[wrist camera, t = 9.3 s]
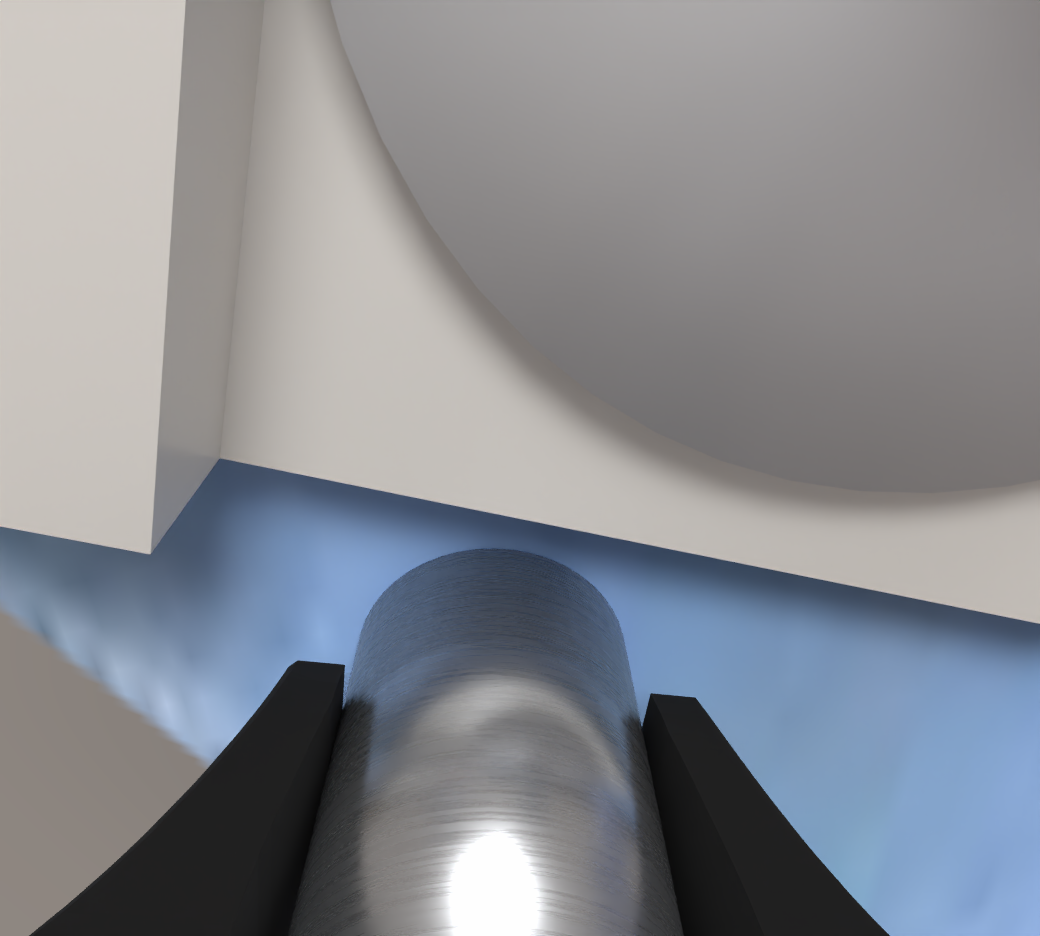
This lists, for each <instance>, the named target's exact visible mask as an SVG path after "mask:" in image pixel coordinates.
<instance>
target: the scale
mask: <svg viewBox="0 0 1040 936" xmlns="http://www.w3.org/2000/svg"><path fill="white" fill-rule="evenodd" d="M220 458H221V459H226V460H231V461H236V462H241V463H246V464H251V465H256V466H261V467H266V468H271V469H276V470H281V471H285V472H290V473H295V474H300V475H305V476H310V477H315V478H320V479H325V480H330V481H335V482H340V483H345V484H350V485H355V486H360V487H365V488H370V489H375V490H380V491H385V492H389V493H394V494H399V495H404V496H409V497H414V498H419V499H424V500H429V501H434V502H439V503H444V504H449V505H454V506H459V507H464V508H469V509H474V510H479V511H484V512H489V513H494V514H498V515H503V516H508V517H513V518H518V519H523V520H528V521H533V522H538V523H543V524H548V525H553V526H558V527H563V528H568V529H573V530H578V531H583V532H588V533H593V534H598V535H602V536H607V537H612V538H617V539H622V540H627V541H632V542H637V543H642V544H647V545H652V546H657V547H662V548H667V549H672V550H677V551H682V552H687V553H692V554H697V555H702V556H706V557H711V558H716V559H721V560H726V561H731V562H736V563H741V564H746V565H751V566H756V567H761V568H766V569H771V570H776V571H781V572H786V573H791V574H796V575H801V576H806V577H811V578H815V579H820V580H825V581H830V582H835V583H840V584H845V585H850V586H855V587H860V588H865V589H870V590H875V591H880V592H885V593H890V594H895V595H900V596H905V597H910V598H915V599H919V600H924V601H929V602H934V603H939V604H944V605H949V606H954V607H959V608H964V609H969V610H974V611H979V612H984V613H989V614H994V615H999V616H1004V617H1009V618H1014V619H1019V620H1024V621H1028V622H1033V623H1038V624H1040V0H0V526H1V527H6V528H11V529H17V530H22V531H27V532H33V533H38V534H43V535H49V536H54V537H59V538H65V539H70V540H76V541H81V542H86V543H92V544H97V545H102V546H108V547H113V548H118V549H124V550H129V551H134V552H140V553H145V554H150V555H151V553H152V552H153V550H154V549H155V548H156V546H157V545H158V544H159V542H160V541H161V539H162V538H163V537H164V535H165V534H166V532H167V531H168V530H169V528H170V527H171V525H172V524H173V523H174V521H175V520H176V518H177V517H178V516H179V514H180V513H181V511H182V510H183V509H184V507H185V506H186V504H187V503H188V502H189V500H190V499H191V498H192V496H193V495H194V493H195V492H196V491H197V489H198V488H199V486H200V485H201V484H202V482H203V481H204V479H205V478H206V477H207V475H208V474H209V472H210V471H211V470H212V468H213V467H214V465H215V464H216V463H217V461H218V460H219V459H220Z"/></svg>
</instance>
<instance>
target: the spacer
mask: <svg viewBox="0 0 1040 936" xmlns="http://www.w3.org/2000/svg"><path fill="white" fill-rule="evenodd" d="M288 936H684V935H683V930H682V925H681V920H680V915H679V910H678V905H677V900H676V895H675V890H674V885H673V880H672V875H671V870H670V865H669V860H668V856H667V851H666V846H665V841H664V836H663V831H662V826H661V821H660V816H659V811H658V806H657V801H656V796H655V791H654V786H653V781H652V776H651V771H650V766H649V761H648V756H647V751H646V746H645V741H644V736H643V731H642V726H641V722H640V717H639V712H638V707H637V702H636V697H635V692H634V687H633V682H632V677H631V672H630V667H629V662H628V657H627V652H626V647H625V642H624V637H623V634H622V630H621V627H620V624H619V621H618V619H617V617H616V615H615V613H614V611H613V609H612V608H611V606H610V605H609V604H608V602H607V601H606V599H605V598H604V597H603V596H602V595H601V593H600V592H599V591H598V590H597V589H596V588H595V587H594V586H593V585H592V584H590V583H589V582H588V581H587V580H585V579H584V578H583V577H582V576H580V575H579V574H577V573H576V572H574V571H572V570H571V569H569V568H567V567H566V566H564V565H561V564H559V563H557V562H555V561H552V560H550V559H548V558H544V557H541V556H538V555H535V554H531V553H526V552H521V551H515V550H505V549H475V550H469V551H462V552H456V553H453V554H449V555H445V556H442V557H438V558H436V559H433V560H431V561H428V562H426V563H423V564H422V565H420V566H418V567H416V568H414V569H412V570H411V571H409V572H407V573H406V574H405V575H403V576H402V577H400V578H399V579H398V580H396V581H395V582H394V583H393V584H392V585H391V586H390V587H389V588H388V589H387V590H386V591H384V592H383V593H382V595H381V596H380V597H379V599H378V600H377V601H376V603H375V604H374V605H373V607H372V609H371V610H370V612H369V614H368V616H367V618H366V620H365V623H364V625H363V628H362V631H361V634H360V639H359V643H358V647H357V651H356V655H355V659H354V663H353V668H352V672H351V676H350V680H349V684H348V688H347V692H346V696H345V701H344V705H343V709H342V713H341V717H340V721H339V725H338V730H337V734H336V738H335V742H334V746H333V750H332V754H331V759H330V763H329V767H328V771H327V775H326V779H325V783H324V788H323V792H322V796H321V800H320V804H319V808H318V812H317V816H316V821H315V825H314V829H313V833H312V837H311V841H310V845H309V850H308V854H307V858H306V862H305V866H304V870H303V874H302V879H301V883H300V887H299V891H298V895H297V899H296V903H295V908H294V912H293V916H292V920H291V924H290V928H289V932H288Z"/></svg>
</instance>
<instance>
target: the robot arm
mask: <svg viewBox="0 0 1040 936" xmlns="http://www.w3.org/2000/svg"><path fill="white" fill-rule="evenodd" d="M344 671H345V665H341V664H330V663H319V662H308V661H296V662H295V663H293V664H292V665H290V666H289V667H288V668H287V670H286V671H285V673H284V674H283V676H282V677H281V679H280V680H279V682H278V683H277V684H276V686H275V687H274V688H273V690H272V691H271V693H270V694H269V695H268V697H267V698H266V699H265V700H264V702H263V703H262V704H261V706H260V707H259V708H258V709H257V711H256V712H255V713H254V714H253V716H252V717H251V718H250V719H249V721H248V722H247V723H246V724H245V726H244V727H243V728H242V729H241V731H240V732H239V733H238V734H237V735H236V737H235V738H234V739H233V740H232V741H231V742H230V743H229V745H228V746H227V747H226V748H225V749H224V750H223V751H222V753H221V754H220V755H219V756H218V757H217V758H216V759H215V761H214V762H213V763H212V764H211V765H210V766H209V768H208V769H207V770H206V771H205V772H204V773H203V774H202V775H201V777H200V778H199V779H198V780H197V781H196V782H195V783H194V784H193V785H192V786H191V787H190V788H189V790H187V792H186V793H185V794H184V795H183V796H182V797H181V798H180V799H179V800H178V801H177V802H176V803H175V804H174V805H173V806H172V807H171V808H170V809H169V810H168V811H167V812H166V813H165V814H164V815H163V816H162V817H161V818H160V819H159V820H158V821H157V822H156V823H155V824H154V825H153V826H152V827H151V828H150V829H149V831H148V832H146V833H145V834H144V835H143V837H141V838H140V839H139V840H138V841H137V842H136V843H135V844H134V845H133V846H132V847H131V848H130V849H129V850H128V851H127V852H126V853H125V854H124V855H123V856H121V858H119V859H118V860H117V861H116V862H115V863H114V864H113V865H112V866H111V867H109V868H108V869H107V870H106V871H105V872H104V873H103V874H102V875H101V876H99V878H97V879H96V880H95V881H94V882H93V883H92V884H90V885H89V886H88V887H87V888H86V889H85V890H84V891H83V892H81V893H80V894H79V895H78V896H77V897H76V898H74V899H73V900H72V901H71V902H70V903H69V904H68V905H66V906H65V907H64V908H63V909H61V910H60V911H59V912H58V913H56V914H55V915H54V916H53V917H52V918H50V919H49V920H48V921H47V922H45V923H44V924H43V925H42V926H41V927H39V928H38V929H37V930H36V931H34V932H33V933H32V934H31V935H29V936H288V932H289V928H290V924H291V920H292V916H293V912H294V908H295V903H296V899H297V895H298V891H299V887H300V883H301V879H302V874H303V870H304V866H305V862H306V858H307V854H308V850H309V845H310V841H311V837H312V833H313V829H314V825H315V821H316V816H317V812H318V808H319V804H320V800H321V796H322V792H323V788H324V783H325V779H326V775H327V771H328V767H329V763H330V759H331V754H332V750H333V746H334V742H335V738H336V734H337V730H338V725H339V721H340V717H341V713H342V707H343V689H344ZM642 731H643V736H644V741H645V746H646V751H647V756H648V761H649V766H650V771H651V776H652V781H653V786H654V791H655V796H656V801H657V806H658V811H659V816H660V821H661V826H662V831H663V836H664V841H665V846H666V851H667V856H668V860H669V865H670V870H671V875H672V880H673V885H674V890H675V895H676V900H677V905H678V910H679V915H680V920H681V925H682V930H683V935H684V936H890V935H889V934H888V933H887V932H886V931H885V930H884V929H883V928H882V927H881V926H880V925H879V924H878V923H877V922H876V921H875V920H874V919H873V918H872V917H871V916H870V915H869V914H868V913H867V912H866V911H865V910H864V909H863V908H862V907H861V905H860V904H859V903H858V902H857V901H856V900H855V899H854V898H853V897H852V896H851V895H850V894H849V892H848V891H847V890H846V889H845V888H844V887H843V886H842V884H841V883H840V882H839V881H838V880H837V879H836V878H835V876H834V875H833V874H832V873H831V872H830V871H829V870H828V869H827V867H826V866H825V865H824V864H823V863H822V862H821V861H820V859H819V858H818V857H817V856H816V855H815V854H814V852H813V851H812V850H811V849H810V848H809V846H808V845H807V844H806V843H805V842H804V840H803V839H802V838H801V837H800V836H799V834H798V833H797V832H796V830H795V829H794V828H793V827H792V825H791V824H790V823H789V822H788V820H787V819H786V818H785V817H784V815H783V814H782V813H781V811H780V810H779V809H778V808H777V806H776V805H775V804H774V803H773V801H772V800H771V799H770V798H769V796H768V795H767V794H766V792H765V791H764V790H763V788H762V787H761V786H760V784H759V783H758V782H757V781H756V779H755V778H754V777H753V775H752V774H751V772H750V771H749V770H748V768H747V767H746V766H745V764H744V763H743V762H742V760H741V759H740V758H739V756H738V755H737V754H736V752H735V751H734V749H733V748H732V747H731V745H730V744H729V743H728V741H727V740H726V738H725V737H724V736H723V734H722V733H721V732H720V730H719V729H718V727H717V726H716V725H715V723H714V722H713V721H712V719H711V718H710V716H709V715H708V714H707V712H706V711H705V710H704V708H703V707H702V706H701V704H700V703H699V702H698V700H697V699H696V698H694V697H683V696H672V695H662V694H651V695H650V699H649V702H648V706H647V710H646V714H645V718H644V722H643V726H642Z"/></svg>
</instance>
